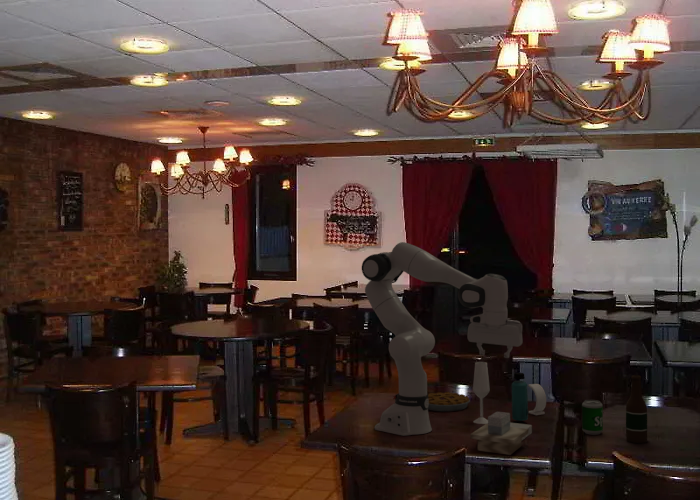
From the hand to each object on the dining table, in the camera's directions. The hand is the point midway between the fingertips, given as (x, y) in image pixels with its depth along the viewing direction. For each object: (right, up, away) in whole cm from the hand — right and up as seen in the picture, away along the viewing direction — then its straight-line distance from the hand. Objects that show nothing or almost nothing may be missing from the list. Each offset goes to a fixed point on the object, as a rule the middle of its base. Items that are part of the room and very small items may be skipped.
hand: (494, 356), depth 288 cm
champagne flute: (+1, -31, +31) cm, 44 cm away
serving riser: (+1, -32, -6) cm, 33 cm away
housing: (+1, -26, -6) cm, 27 cm away
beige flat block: (+8, -31, +12) cm, 34 cm away
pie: (-11, -30, +59) cm, 67 cm away
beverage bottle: (+16, -31, +29) cm, 45 cm away
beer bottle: (+52, -31, +1) cm, 61 cm away
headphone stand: (+26, -30, +43) cm, 58 cm away
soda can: (+40, -31, +12) cm, 52 cm away
